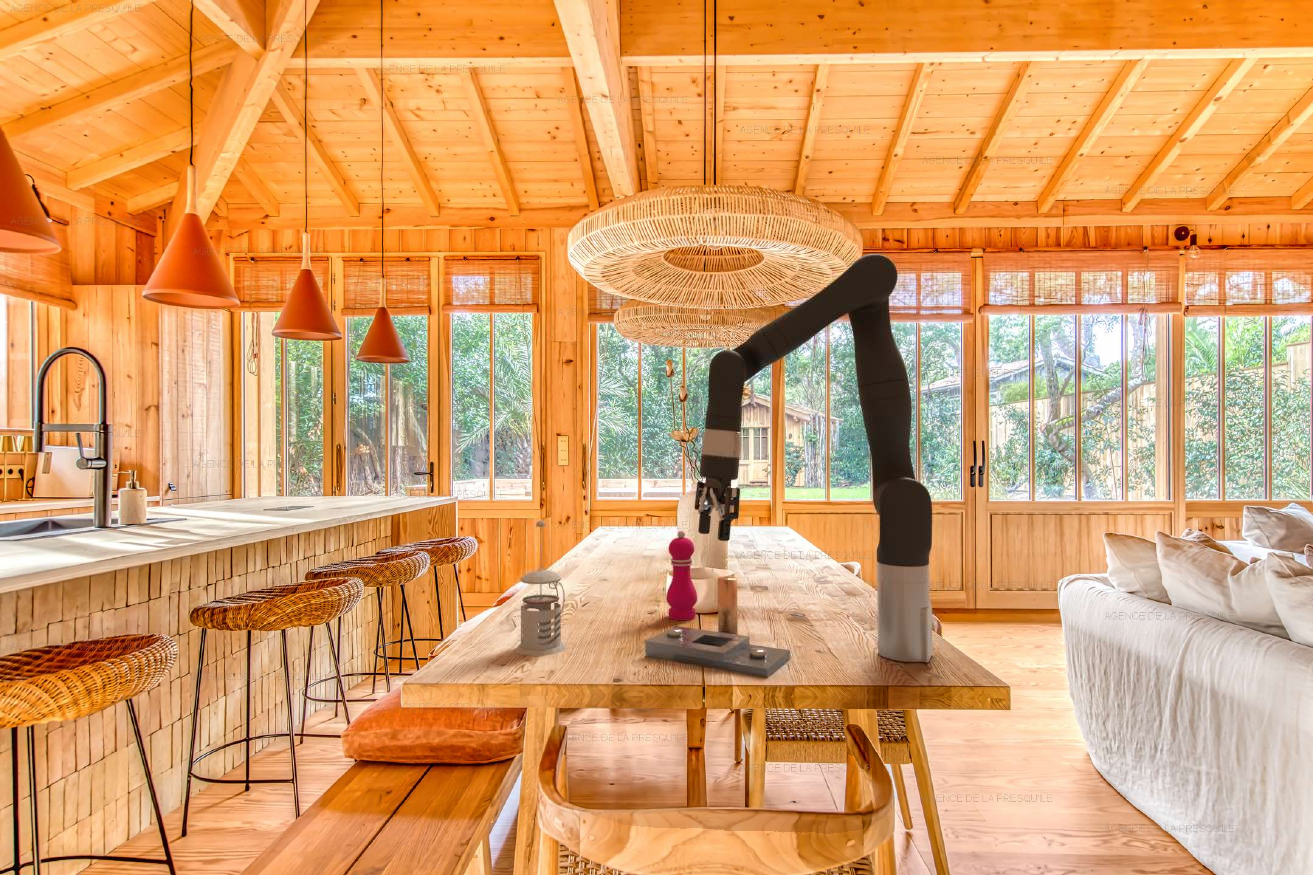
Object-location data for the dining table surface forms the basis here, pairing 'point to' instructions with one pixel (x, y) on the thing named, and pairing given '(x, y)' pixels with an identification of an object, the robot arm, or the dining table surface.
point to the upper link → (694, 644)
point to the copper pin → (727, 605)
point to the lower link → (743, 660)
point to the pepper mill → (681, 579)
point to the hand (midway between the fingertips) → (713, 536)
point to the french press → (541, 614)
